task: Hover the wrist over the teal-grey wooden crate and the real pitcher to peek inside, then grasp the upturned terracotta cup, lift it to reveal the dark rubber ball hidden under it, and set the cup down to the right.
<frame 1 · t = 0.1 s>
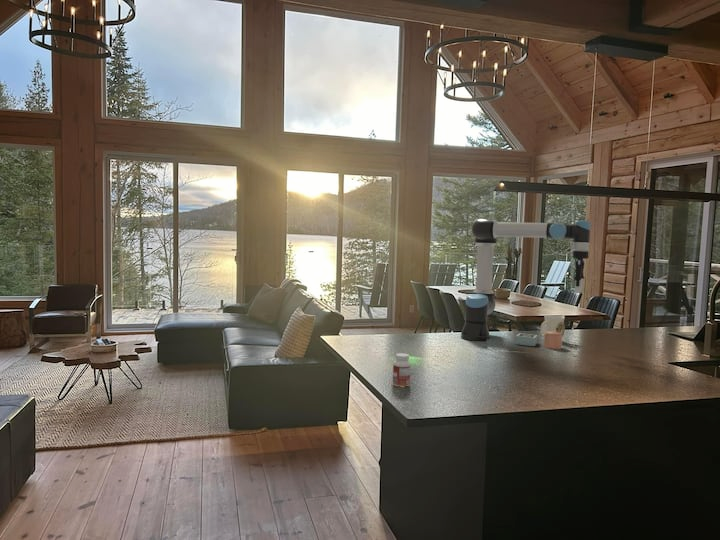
hand: (578, 291, 272), 28 cm above the countertop, fingers open, 13 cm apart
ball: (553, 345, 263), in the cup
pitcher: (551, 341, 283), on the countertop
block: (526, 343, 270), point 1 cm above the countertop, touching crate
crate: (526, 345, 270), on the countertop
pill bottle: (401, 385, 188), on the countertop
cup: (552, 348, 263), on the countertop
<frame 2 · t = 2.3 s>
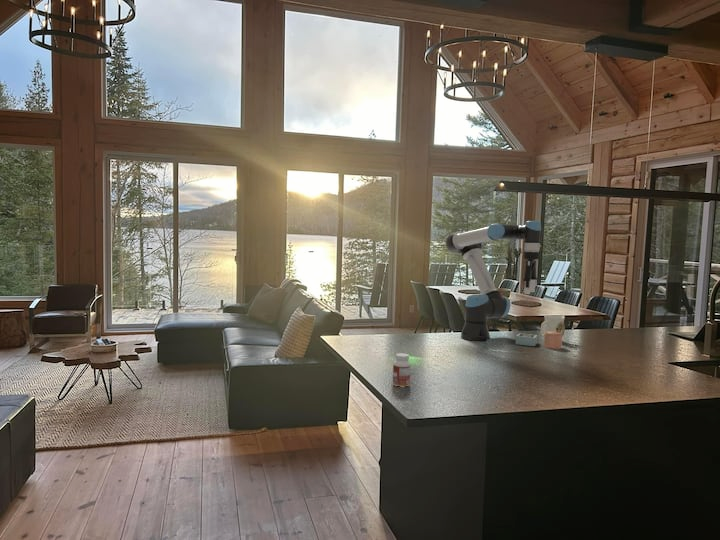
hand: (529, 293, 268), 27 cm above the countertop, fingers open, 13 cm apart
nothing on the countertop moved.
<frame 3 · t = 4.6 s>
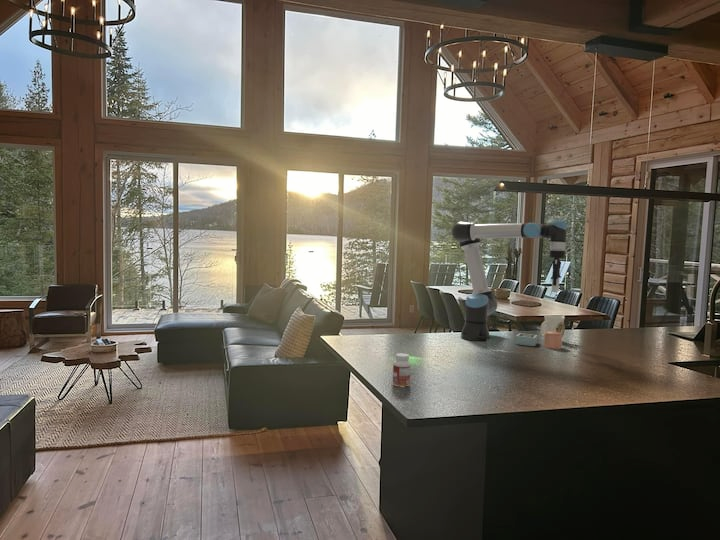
hand: (555, 291, 274), 28 cm above the countertop, fingers open, 13 cm apart
nothing on the countertop moved.
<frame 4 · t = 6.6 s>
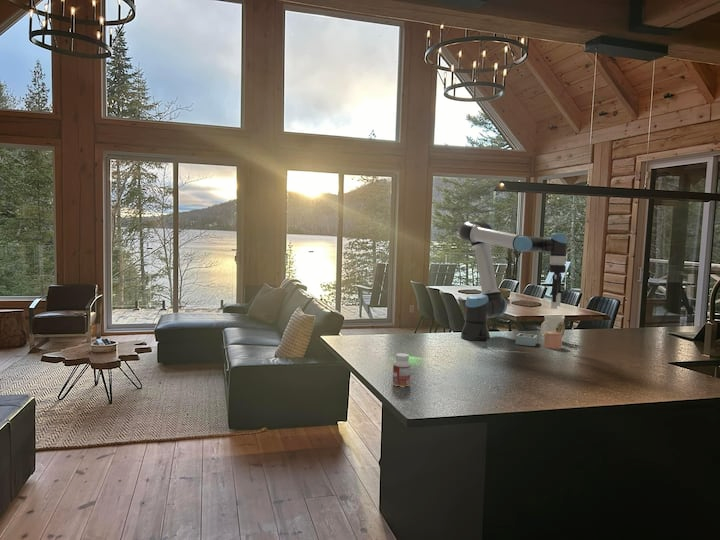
hand: (555, 307, 261), 21 cm above the countertop, fingers open, 13 cm apart
nothing on the countertop moved.
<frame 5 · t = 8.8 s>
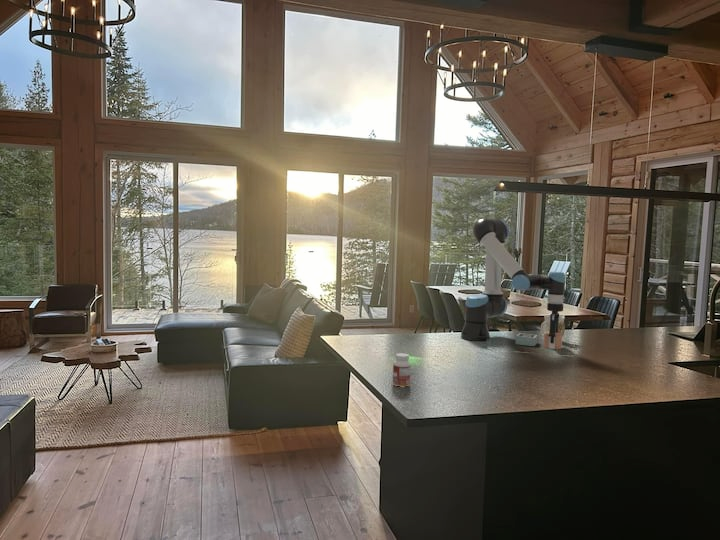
hand: (552, 348, 263), 0 cm above the countertop, fingers closed on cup, 8 cm apart
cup: (552, 348, 263), on the countertop, touching gripper
everything else where it was.
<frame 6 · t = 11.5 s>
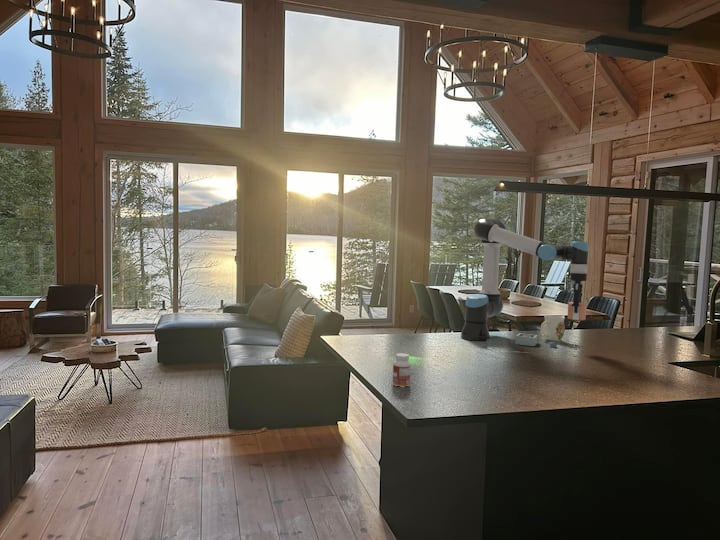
hand: (576, 318, 261), 16 cm above the countertop, fingers closed on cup, 8 cm apart
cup: (576, 318, 261), point 16 cm above the countertop, touching gripper
everything else where it was.
when the fingers open (2 cm above the countertop, at t = 14.5 s): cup drops 1 cm, on the countertop.
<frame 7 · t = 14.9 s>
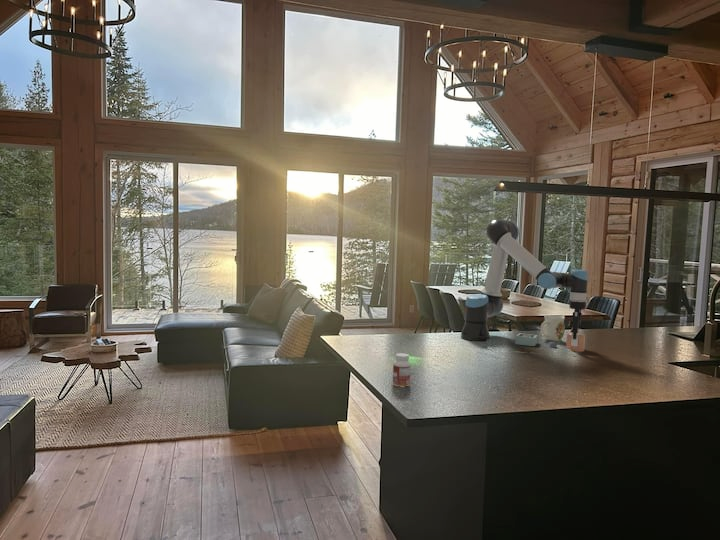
hand: (575, 343, 262), 3 cm above the countertop, fingers open, 13 cm apart
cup: (575, 349, 262), on the countertop
everything else where it was.
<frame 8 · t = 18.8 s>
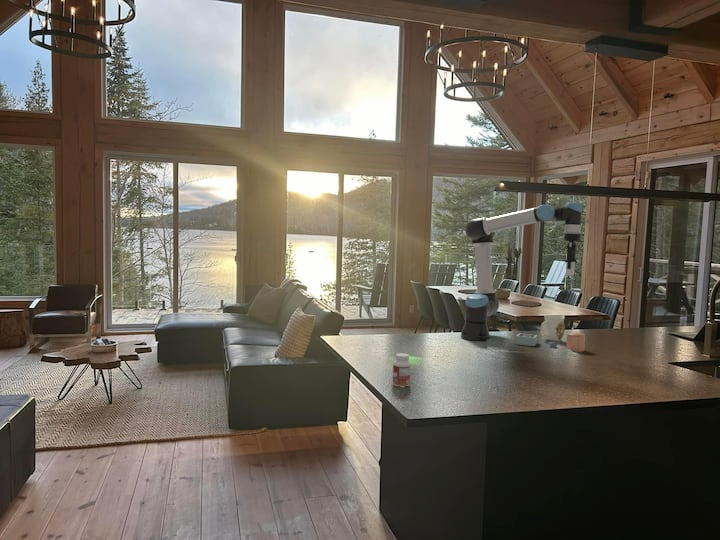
hand: (569, 275, 268), 37 cm above the countertop, fingers open, 13 cm apart
nothing on the countertop moved.
at the end: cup inside the target area (0.0 cm from its centre), on the countertop; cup tilted 0°; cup moved 10.8 cm from its start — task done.
